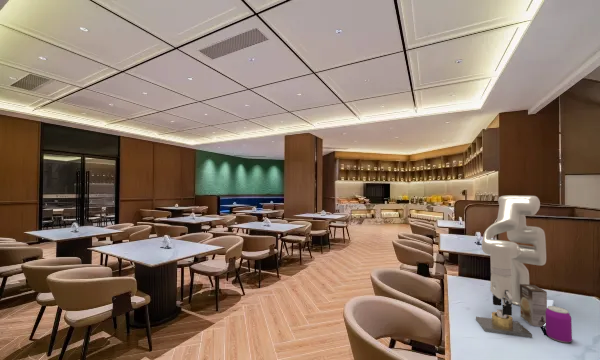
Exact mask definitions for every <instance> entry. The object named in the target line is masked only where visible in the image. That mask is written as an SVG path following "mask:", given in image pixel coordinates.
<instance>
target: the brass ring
mask: <svg viewBox="0 0 600 360" xmlns="http://www.w3.org/2000/svg"><path fill="white" fill-rule="evenodd" d="M491 319H492V323H493V324H494V325H495V326H497V327H500V328H504V329H512V328H513V321H514V320H513V317H512V315H507V319H506V318H501V317H498V316H497V311H493V312H492V313H491Z"/></svg>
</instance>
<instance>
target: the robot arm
mask: <svg viewBox="0 0 600 360" xmlns="http://www.w3.org/2000/svg"><path fill="white" fill-rule="evenodd" d="M497 203H498V205H499V206H498V213H497V219H496V221H495V222H494V223H492V224H491V225H489V226H488V227H487V228H486V229H485V231H484V233H483V235H482V242H481V250H482V252H483V253H484V254H486V255H488V256H490V288H489V289H490V293H492V305H493V306H502V310H503V314H504V315H510V316H513V305H515V306H518V307H520V284H528V285H530V273H529V269H528V268H527V267H526V265H527V264H529V265H532V266H533V265H534V266H535V265H536V266H544V265H546V263H547V242H546V233H545V230H544V229H542V228H541V227H539V226H531V225H530V226H529V225H527V219H526V216H534V215H536V214H537V212H538V211H539V210H540V207H541V202H540V198H539V197H538V196H536V195H515V194H514V195H513V194H512V195H510V194H509V195H501V196H499V197H498V200H497ZM502 233H506V237H507V239H508V240H501V239H500V240H499V239H493V238H494V237H495V236H496V235H499V234H502ZM519 243H520V244H519ZM525 244H527V245H525ZM528 244H529V245H528ZM530 245H532V246H530ZM525 264H526V265H525Z"/></svg>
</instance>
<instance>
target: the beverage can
mask: <svg viewBox="0 0 600 360" xmlns="http://www.w3.org/2000/svg"><path fill="white" fill-rule="evenodd" d="M545 313H546V327H545V334H546V335H547V336H548V337H549V338H550V339H552V340H554V341H556V342H560V343H563V344H565V343H566V344H569V343H571V342H572V341H573V332H572V331H573V330H572V329H573V326H572V317H571V314H570V313H569V310H567V309H565V308H562V307H559V306H554V305H547V310H546V311H545Z"/></svg>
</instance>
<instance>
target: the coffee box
mask: <svg viewBox="0 0 600 360" xmlns="http://www.w3.org/2000/svg"><path fill="white" fill-rule="evenodd" d="M547 296H548V293H547V291H546V290H544V289H542V288H540V287H539V286H537V285H535V284H529V285H528V284H520V306H519V307H520V308H519V309H520V311H519V312H520V314H519V315H520V318H521V319H523V320H524V321H526V322H527V323H528V324H529V325H530V326H532V327H542V326H543V325H544V324H545V323H546V313H545V311H546V310H547V308H548V299H547V298H548V297H547ZM542 328H543V327H542Z"/></svg>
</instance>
